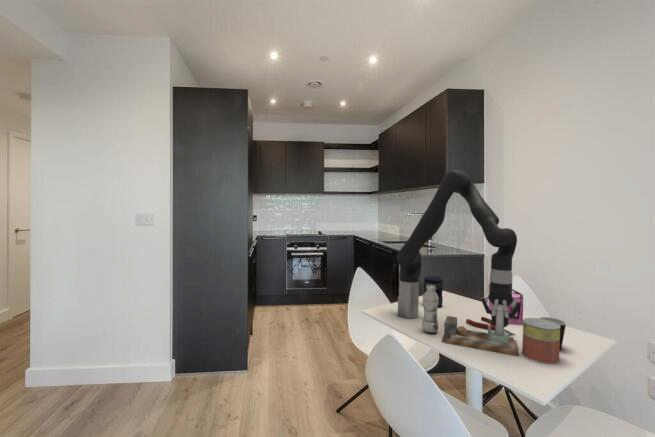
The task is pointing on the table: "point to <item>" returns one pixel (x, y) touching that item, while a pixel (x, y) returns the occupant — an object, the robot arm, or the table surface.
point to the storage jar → (439, 286)
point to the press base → (475, 339)
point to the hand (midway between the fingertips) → (499, 325)
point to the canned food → (541, 340)
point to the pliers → (484, 326)
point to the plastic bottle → (430, 309)
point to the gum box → (519, 314)
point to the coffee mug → (560, 328)
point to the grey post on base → (498, 327)
